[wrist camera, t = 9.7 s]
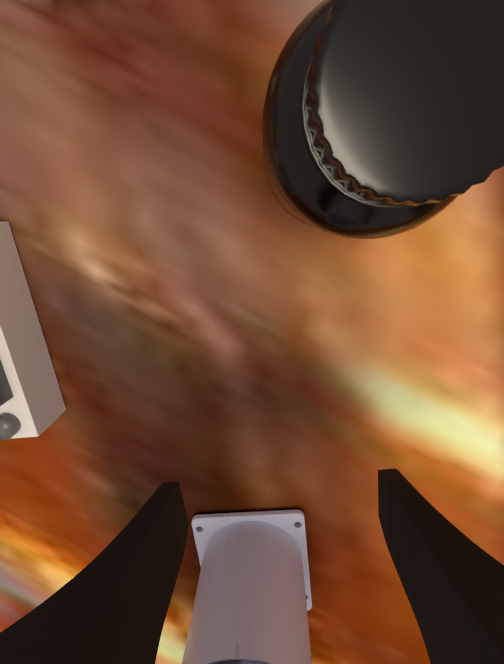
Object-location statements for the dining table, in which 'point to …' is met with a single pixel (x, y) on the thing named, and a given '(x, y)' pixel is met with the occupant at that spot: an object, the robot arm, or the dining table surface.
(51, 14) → the dining table surface
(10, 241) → the camera body
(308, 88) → the supplement bottle
